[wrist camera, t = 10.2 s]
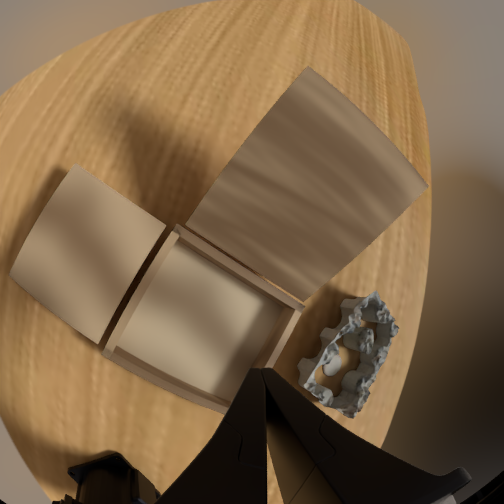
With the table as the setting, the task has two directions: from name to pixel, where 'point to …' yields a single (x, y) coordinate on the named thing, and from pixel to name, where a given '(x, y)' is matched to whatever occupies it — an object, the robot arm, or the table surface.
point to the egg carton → (356, 339)
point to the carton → (152, 293)
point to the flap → (307, 189)
